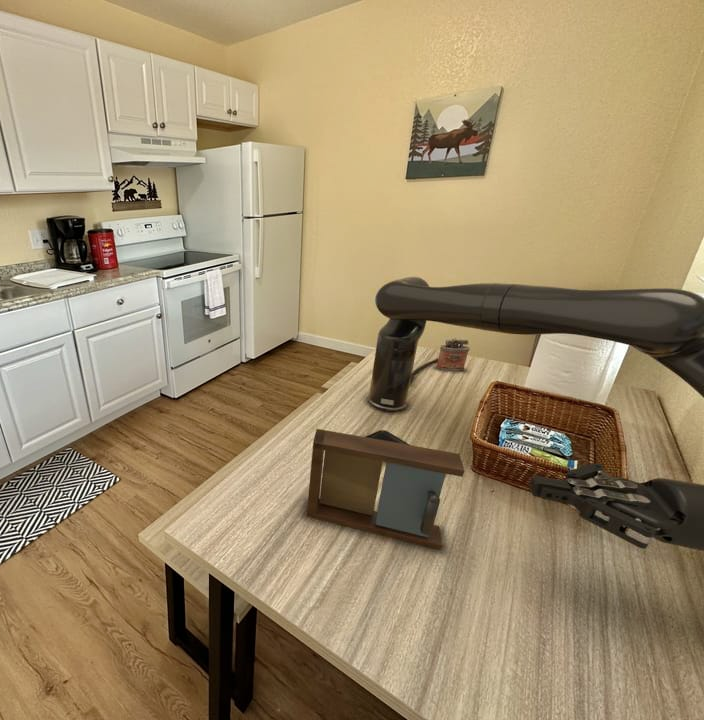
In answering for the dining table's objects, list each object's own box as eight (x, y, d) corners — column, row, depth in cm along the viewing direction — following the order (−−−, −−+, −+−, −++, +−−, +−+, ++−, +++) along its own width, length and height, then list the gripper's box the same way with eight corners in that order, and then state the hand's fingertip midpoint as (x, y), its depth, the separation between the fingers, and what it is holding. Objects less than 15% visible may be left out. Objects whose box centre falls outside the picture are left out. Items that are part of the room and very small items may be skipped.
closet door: (375, 520, 65) (387, 458, 59) (428, 533, 62) (445, 469, 57) (375, 538, 61) (387, 474, 56) (430, 552, 59) (449, 486, 53)
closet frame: (309, 500, 71) (316, 428, 64) (437, 531, 64) (459, 453, 58) (306, 516, 67) (313, 442, 61) (441, 550, 61) (464, 470, 54)
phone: (383, 428, 89) (444, 465, 77) (382, 432, 90) (443, 469, 78) (359, 439, 86) (419, 478, 74) (358, 443, 86) (418, 483, 74)
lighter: (437, 370, 119) (444, 340, 115) (434, 366, 122) (440, 336, 118) (465, 372, 118) (473, 341, 114) (461, 367, 121) (468, 337, 117)
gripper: (685, 458, 49) (523, 433, 54) (778, 539, 37) (562, 498, 43) (659, 503, 52) (509, 475, 57) (739, 591, 40) (541, 546, 46)
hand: (532, 485), depth 50 cm, fingers closed
